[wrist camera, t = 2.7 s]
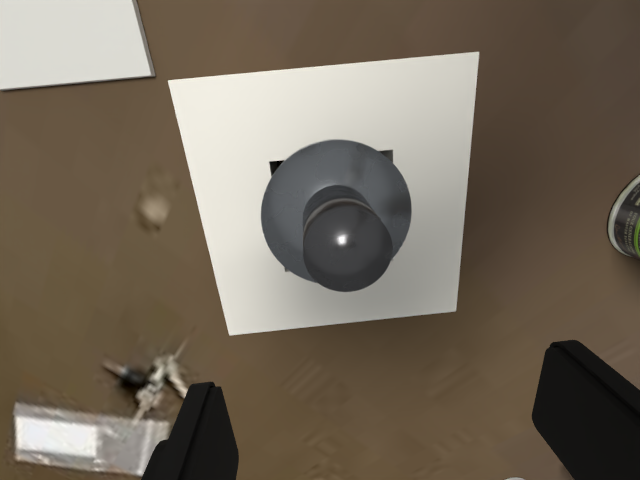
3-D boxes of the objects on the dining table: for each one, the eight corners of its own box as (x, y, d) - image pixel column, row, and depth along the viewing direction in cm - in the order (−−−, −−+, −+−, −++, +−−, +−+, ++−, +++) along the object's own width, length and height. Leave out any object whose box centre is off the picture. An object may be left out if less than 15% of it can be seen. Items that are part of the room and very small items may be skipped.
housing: (441, 63, 26) (479, 51, 21) (430, 278, 34) (456, 311, 28) (196, 86, 26) (167, 80, 20) (241, 297, 33) (229, 335, 28)
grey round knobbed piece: (388, 127, 27) (453, 140, 16) (389, 245, 32) (440, 323, 20) (260, 139, 27) (229, 162, 16) (277, 256, 31) (264, 342, 20)
